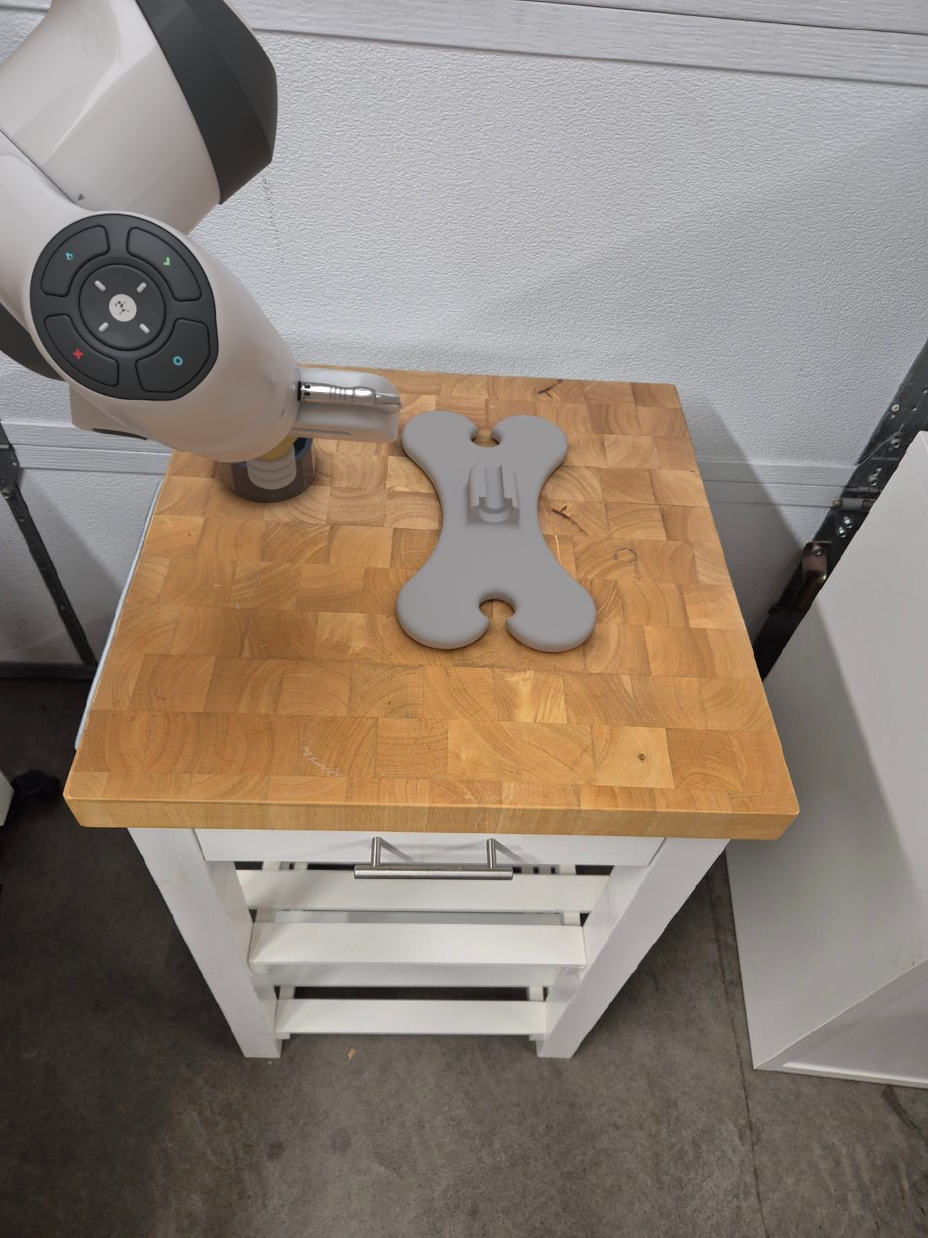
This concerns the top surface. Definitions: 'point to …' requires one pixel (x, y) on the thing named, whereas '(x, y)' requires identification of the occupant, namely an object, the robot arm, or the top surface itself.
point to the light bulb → (274, 466)
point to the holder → (491, 537)
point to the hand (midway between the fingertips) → (266, 417)
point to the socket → (245, 488)
